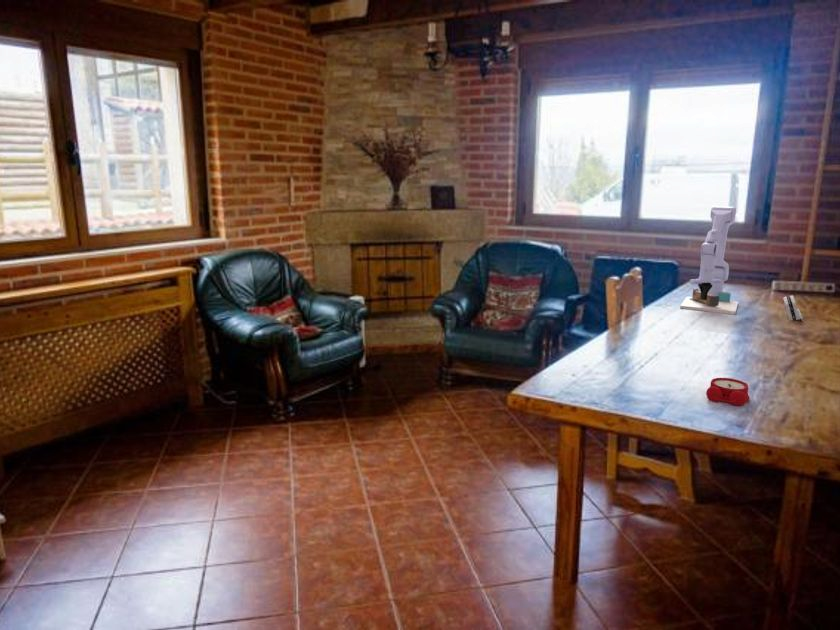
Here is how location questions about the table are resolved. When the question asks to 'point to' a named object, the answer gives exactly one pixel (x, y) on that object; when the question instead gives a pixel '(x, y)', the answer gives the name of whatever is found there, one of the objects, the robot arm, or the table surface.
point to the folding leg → (710, 299)
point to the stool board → (722, 307)
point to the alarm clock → (728, 391)
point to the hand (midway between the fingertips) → (703, 299)
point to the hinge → (794, 309)
